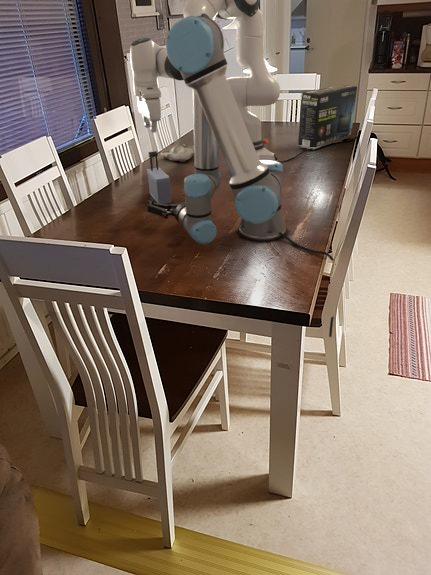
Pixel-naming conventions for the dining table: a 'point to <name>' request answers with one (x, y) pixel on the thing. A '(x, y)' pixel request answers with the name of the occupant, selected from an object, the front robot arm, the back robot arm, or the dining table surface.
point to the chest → (160, 190)
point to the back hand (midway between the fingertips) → (150, 129)
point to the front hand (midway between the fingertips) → (169, 196)
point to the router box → (326, 115)
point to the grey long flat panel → (156, 169)
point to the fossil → (178, 152)
